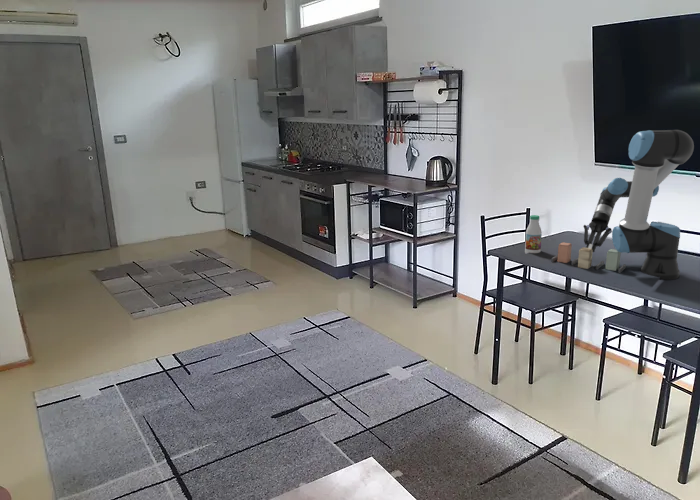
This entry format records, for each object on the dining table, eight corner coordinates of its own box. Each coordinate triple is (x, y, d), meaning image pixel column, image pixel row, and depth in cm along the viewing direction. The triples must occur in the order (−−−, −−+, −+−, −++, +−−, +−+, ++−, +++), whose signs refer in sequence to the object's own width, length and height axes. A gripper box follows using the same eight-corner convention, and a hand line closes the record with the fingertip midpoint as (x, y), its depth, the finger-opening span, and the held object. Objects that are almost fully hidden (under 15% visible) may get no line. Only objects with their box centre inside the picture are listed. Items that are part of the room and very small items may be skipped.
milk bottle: (521, 252, 283) (523, 215, 278) (534, 251, 285) (536, 213, 280) (530, 256, 276) (532, 217, 271) (543, 254, 278) (545, 216, 273)
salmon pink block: (561, 259, 265) (562, 242, 263) (570, 260, 262) (571, 243, 260) (557, 261, 261) (558, 244, 259) (566, 263, 258) (568, 245, 256)
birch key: (581, 264, 255) (582, 247, 253) (591, 266, 252) (592, 248, 250) (577, 267, 251) (579, 249, 249) (587, 268, 248) (589, 250, 246)
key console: (558, 259, 268) (558, 253, 268) (625, 270, 249) (626, 264, 248) (550, 264, 261) (550, 258, 260) (619, 275, 241) (620, 269, 241)
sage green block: (608, 266, 251) (610, 248, 249) (619, 268, 248) (621, 250, 246) (605, 269, 247) (607, 251, 245) (615, 270, 244) (617, 252, 242)
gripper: (617, 221, 260) (603, 263, 252) (589, 218, 268) (574, 259, 260) (615, 212, 254) (600, 255, 247) (586, 210, 263) (571, 250, 255)
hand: (587, 257), depth 253 cm, fingers closed
